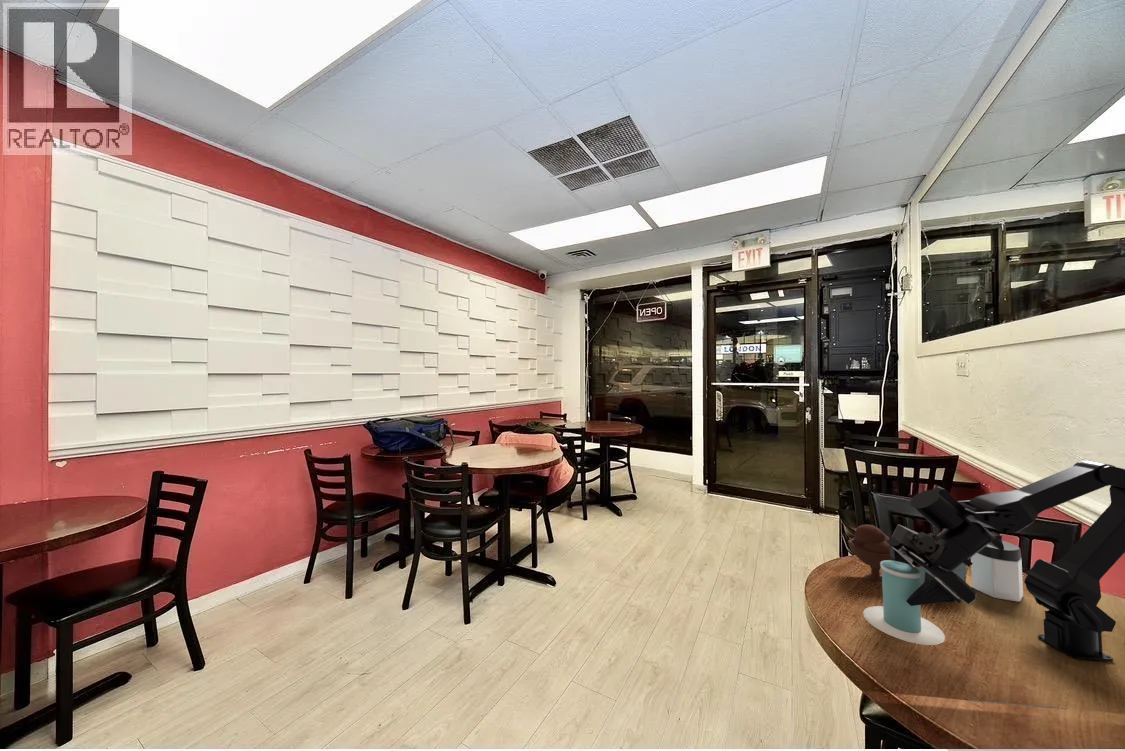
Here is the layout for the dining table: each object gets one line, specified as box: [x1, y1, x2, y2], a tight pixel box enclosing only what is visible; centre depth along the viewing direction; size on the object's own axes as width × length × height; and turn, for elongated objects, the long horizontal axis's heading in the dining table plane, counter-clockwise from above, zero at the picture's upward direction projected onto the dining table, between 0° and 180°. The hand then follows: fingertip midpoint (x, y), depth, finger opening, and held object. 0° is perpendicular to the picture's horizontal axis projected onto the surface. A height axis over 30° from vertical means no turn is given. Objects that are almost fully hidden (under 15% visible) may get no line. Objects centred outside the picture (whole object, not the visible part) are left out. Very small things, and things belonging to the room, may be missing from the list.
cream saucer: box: [862, 605, 946, 646], centre depth 81 cm, size 13×13×1 cm
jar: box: [970, 540, 1024, 603], centre depth 94 cm, size 9×8×12 cm
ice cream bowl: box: [847, 524, 892, 583], centre depth 100 cm, size 11×11×15 cm
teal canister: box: [880, 560, 922, 633], centre depth 81 cm, size 6×6×12 cm
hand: (894, 591), depth 82 cm, fingers open, 9 cm apart
